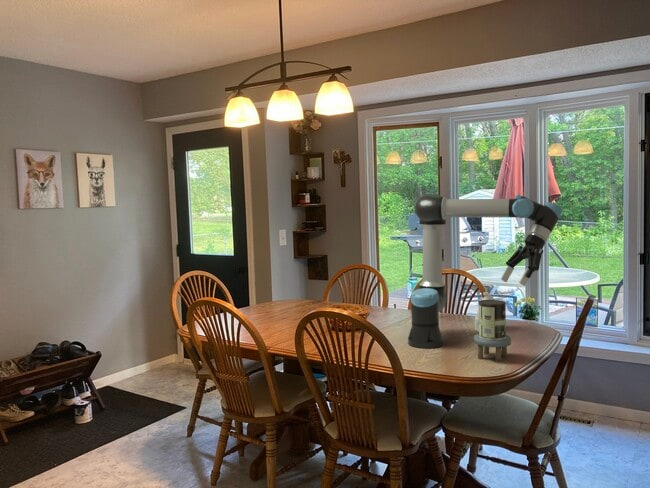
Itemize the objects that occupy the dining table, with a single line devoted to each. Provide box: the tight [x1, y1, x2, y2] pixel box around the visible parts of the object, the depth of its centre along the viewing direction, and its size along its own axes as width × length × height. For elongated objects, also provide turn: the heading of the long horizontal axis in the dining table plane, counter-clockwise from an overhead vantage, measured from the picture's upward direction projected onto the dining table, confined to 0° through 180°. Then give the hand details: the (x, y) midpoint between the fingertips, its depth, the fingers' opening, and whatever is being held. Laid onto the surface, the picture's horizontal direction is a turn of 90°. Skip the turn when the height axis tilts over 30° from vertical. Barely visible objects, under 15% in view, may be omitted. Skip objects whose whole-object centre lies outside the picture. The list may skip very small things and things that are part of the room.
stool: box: [473, 333, 512, 363], centre depth 209 cm, size 14×14×8 cm
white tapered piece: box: [474, 291, 496, 332], centre depth 252 cm, size 13×13×18 cm
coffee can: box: [477, 299, 507, 340], centre depth 208 cm, size 10×10×14 cm
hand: (512, 282), depth 217 cm, fingers open, 13 cm apart
